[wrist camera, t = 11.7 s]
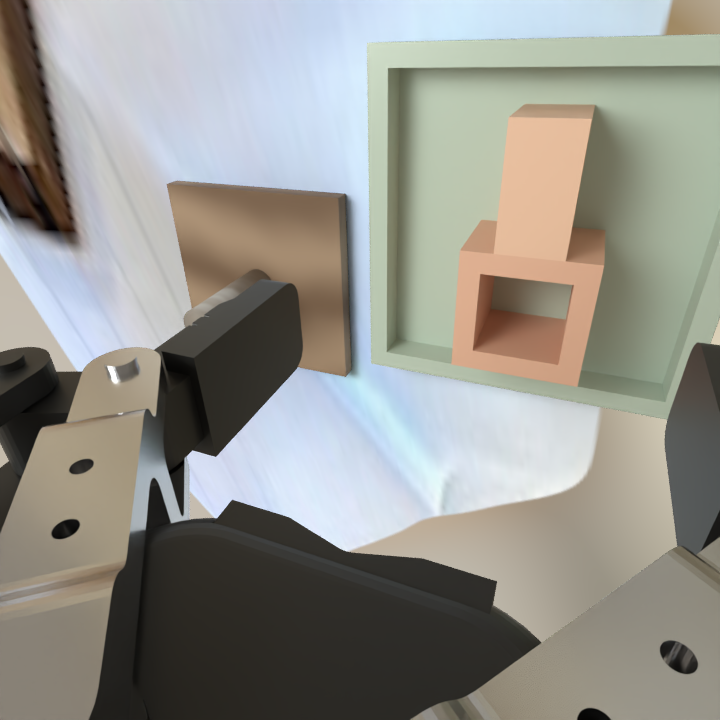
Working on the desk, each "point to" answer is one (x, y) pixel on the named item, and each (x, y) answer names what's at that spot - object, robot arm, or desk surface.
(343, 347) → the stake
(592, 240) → the orange block with hole
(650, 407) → the tray
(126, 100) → the desk surface
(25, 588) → the robot arm
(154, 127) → the desk surface
